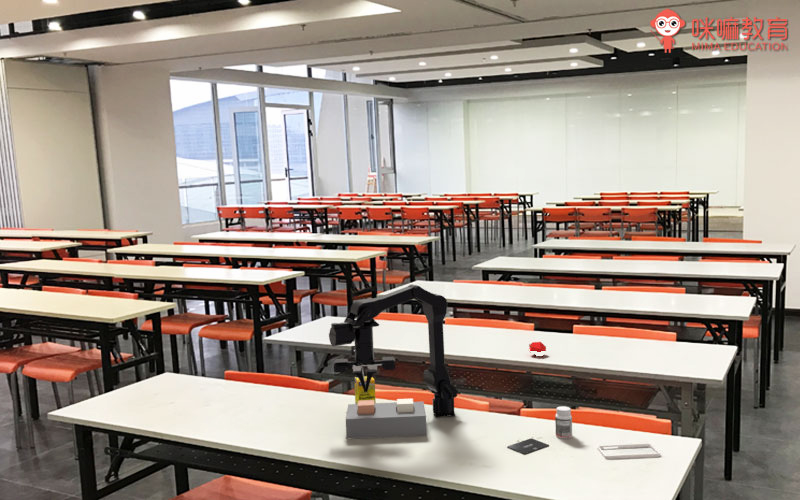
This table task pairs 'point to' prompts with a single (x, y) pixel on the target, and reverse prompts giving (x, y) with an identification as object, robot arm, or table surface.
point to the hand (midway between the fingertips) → (365, 391)
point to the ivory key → (405, 405)
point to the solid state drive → (528, 446)
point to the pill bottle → (563, 422)
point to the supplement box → (360, 392)
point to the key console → (386, 421)
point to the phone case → (628, 454)
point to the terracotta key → (366, 407)
